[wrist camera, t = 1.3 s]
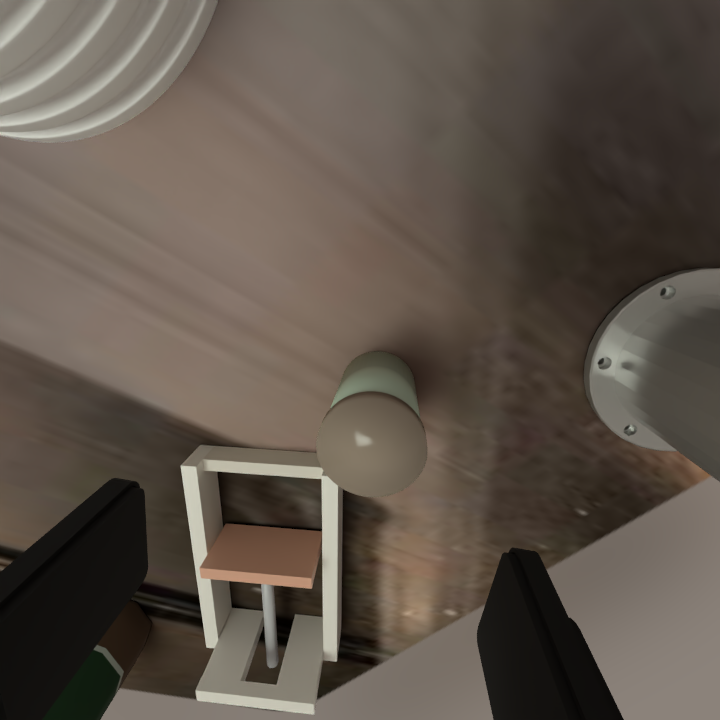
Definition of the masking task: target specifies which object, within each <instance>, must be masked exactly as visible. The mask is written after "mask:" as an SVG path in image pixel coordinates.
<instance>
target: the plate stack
mask: <svg viewBox="0 0 720 720" xmlns="http://www.w3.org/2000/svg"><path fill="white" fill-rule="evenodd" d="M217 3H218V0H0V136H4V137H8V138H13V139H18V140H23V141H31V142H44V143H56V142H68V141H76V140H81V139H86V138H90V137H93V136H96V135H100V134H102V133H105V132H108V131H110V130H112V129H115V128H117V127H119V126H121V125H123V124H124V123H126V122H128V121H130V120H131V119H133V118H134V117H136V116H137V115H139V114H140V113H142V112H143V111H144V110H146V109H147V108H148V107H149V106H151V105H152V104H153V103H154V102H155V101H156V100H157V99H158V98H160V97H161V96H162V95H163V94H164V93H165V91H166V90H167V89H168V88H169V87H170V86H171V85H172V84H173V83H174V81H175V80H176V79H177V78H178V76H179V75H180V74H181V73H182V71H183V70H184V68H185V67H186V65H187V64H188V63H189V61H190V59H191V58H192V56H193V55H194V53H195V51H196V50H197V48H198V46H199V44H200V42H201V40H202V38H203V36H204V34H205V32H206V30H207V28H208V26H209V24H210V21H211V19H212V17H213V14H214V11H215V9H216V6H217Z"/></svg>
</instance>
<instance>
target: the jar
mask: <svg viewBox="0 0 720 720" xmlns="http://www.w3.org/2000/svg"><path fill="white" fill-rule="evenodd" d="M316 451H317V456H318V460H319V463H320V465H321V467H322V469H323V471H324V472H325V473H326V475H327V476H328V477H329V478H330V479H331V480H332V481H333V482H334V483H335V484H336V485H338V486H339V487H341V488H342V489H344V490H346V491H348V492H350V493H353V494H356V495H360V496H365V497H383V496H388V495H392V494H395V493H398V492H400V491H402V490H404V489H405V488H407V487H408V486H410V485H411V484H412V483H413V482H414V481H415V480H416V479H417V478H418V476H419V475H420V474H421V472H422V470H423V468H424V466H425V463H426V459H427V441H426V435H425V430H424V426H423V424H422V422H421V419H420V414H419V408H418V401H417V395H416V388H415V382H414V377H413V374H412V372H411V370H410V368H409V367H408V366H407V364H406V363H405V362H404V361H403V360H401V359H400V358H399V357H397V356H395V355H393V354H390V353H387V352H381V351H374V352H368V353H365V354H362V355H360V356H358V357H357V358H355V359H354V360H353V361H352V362H351V363H350V364H349V365H348V366H347V368H346V370H345V371H344V374H343V377H342V379H341V382H340V385H339V387H338V390H337V393H336V395H335V398H334V401H333V403H332V406H331V408H330V410H329V411H328V412H327V414H326V416H325V417H324V419H323V422H322V424H321V427H320V430H319V432H318V436H317V440H316Z"/></svg>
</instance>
